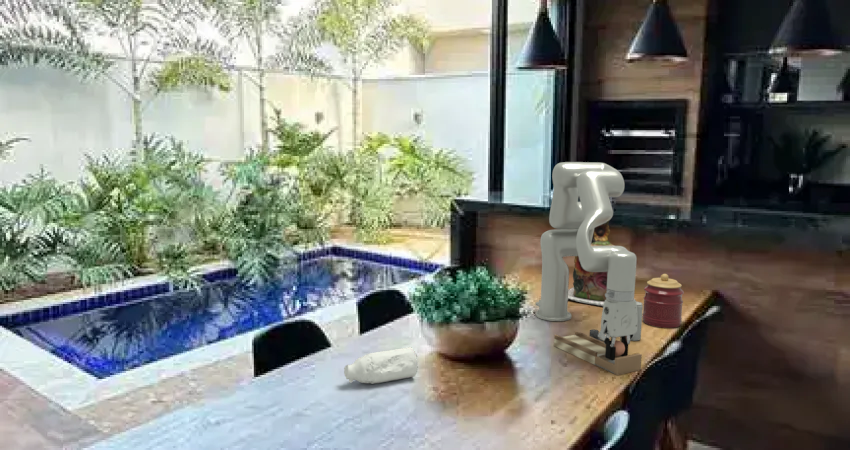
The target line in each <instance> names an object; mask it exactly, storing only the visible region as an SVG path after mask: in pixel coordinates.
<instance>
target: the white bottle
mask: <svg viewBox="0 0 850 450" xmlns="http://www.w3.org/2000/svg"><path fill="white" fill-rule="evenodd" d="M417 358H418V355H417V353H416V351H415V350H414V348H412V347H410V346H407V347H404V348H396V349H390V350H384V351H383V350H382V351H376V352H371V353H370V352H369V353H366V354H365V355H362V356H360V357H358V358H356V359H355V361H354V362H352V363H351V364H346V365H345V366H344V368H343V369H344V371H343V374H344V376H345V379H346V380H348V381H349V383H350V384H351V383H353V382H354V381H355V380H356V381H357V382H359V383H360V384H361V383H362V384H371V385H373V384H380V383H381V384H382V383H385V382H391V381H397V380H403V379H409V378H414V377H416V375H417V373H418V368H419V366H418V360H417Z"/></svg>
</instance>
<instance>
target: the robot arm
mask: <svg viewBox="0 0 850 450" xmlns="http://www.w3.org/2000/svg"><path fill="white" fill-rule="evenodd" d="M551 175H552V176H551V177H552V179H551V180H552V184H553V193H552V198H551V199H552V200H551V205H550V208H549V209H550V210H549V216H548V218H549V225H550V226H551V227H552V228H554V229H549V230H547V231H545V232H542V234H541V237H540V241H539V242H540V250H541V288H540V299H539V300H538V301H536V302H535V306H536V307H538V309H537V311H535V317H536V318H538V319H541V320H543V321H548V322H549V321H551V322H564V321H565V322H567V321H569V320H571V319H572V317H573V316H572V313H571V312H569V311H568V303H569V299H568V290H569V284H570V283H569V282H570V268H569V266H568V264H567V262H566V261H565V260H564V257H566V258H567V257H575V256H579V260H580V264H581V266H582V267H583V269H584V270H586V271H588V272H608V275H607V291H606V293H605V297H606V300H605V302H604V306H602V312H601V317H600V318H601V321H600V330H599V334H598V337H599V338H600V339H601V340H602V341H603V342H604V344H606V352H605V357H606V358H608V359H610V360H612V361H613V360H615V351H616V347H614V344H615V340H616V339H617V338H619V339H620V340H619V341H621V342H622V343H623V344H624V346H625V352H624V353H623V354H622V355H620V356H622V357H623V356H628V355H629V345H630V344H631V338H632V337H633V335H634V334H635V333H636V332H637V321H638V317H637V304H636V299H635V290H636V289H635V288H636V275H637V274H636V273H637V260H638V259H637V254H635V252H632V251H629V250H628V249H627V248H626V247H625V246H622V245H614V246H591V241H592V237H593V232H594V228H595V227H597V226H599V225H602V224H604V223H606V222H607V221H609V220H610V221H611V219H612V218H613V216H614V209H613V207H612V204H611V199H610V198H619V197H620V196H622V194H623V193H624V191H625V180H624V177H623V175H622V173H621V172H620V171H619V170H617V169H616V168H614V167H613V166H611V165H609V164H607V163H605V162H598V161H597V162H589V161H587V162H586V161H585V162H583V161H565V162H559V163H557V164H555V166H554V167H553V170H552V174H551ZM610 221H609V222H610Z"/></svg>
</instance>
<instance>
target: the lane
mask: <svg viewBox="0 0 850 450" xmlns="http://www.w3.org/2000/svg"><path fill="white" fill-rule="evenodd" d="M553 347H555V348H557V349H559V350H562V351H564V352H565V353H568V354H570V355H572V356H575V357H576V358H579V359H581V360H583V361H585V362H588V363H590V364H592V365H594V366H596V365H595V357H600V358H602V359H604V360H606V361H609V360H610V359H608V358H606V357H605V352H606V344H604V342H602V341H600V340H598V339H595V338H593V337H590V335H588V334H586V333H583V332H581V331H578V330H575V331H574V334H573V335H567V336H561V335H558V334H554V336H553ZM615 358H616V356H615Z"/></svg>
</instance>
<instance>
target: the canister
mask: <svg viewBox="0 0 850 450" xmlns="http://www.w3.org/2000/svg"><path fill="white" fill-rule="evenodd" d="M646 283H647V286H645V287H644V289H643V290H644V291H645V294H644V296H643V310H642V323H644V324H646V325H648V326H652V327H656V328H666V329H672V328H673V329H674V328H678V327H680V326H681V324H682V321H683V320H682V313H683V303H684V300H683V295H684V293H685V292H684V290H683V289H681V288H682V284H681V283H680V282H678V280H676V279H674V278H669V275H668V274H667V273H663V274H661V275H660V277H653V278H651V279H650V280H647V282H646Z"/></svg>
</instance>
